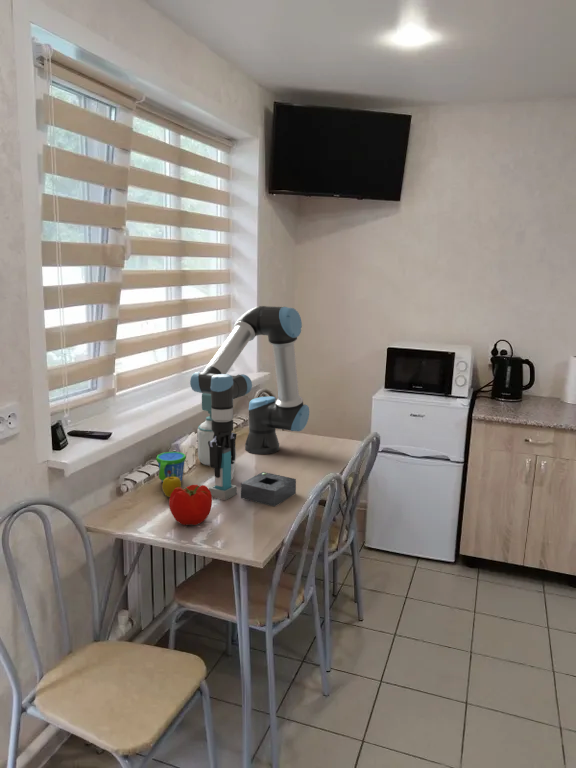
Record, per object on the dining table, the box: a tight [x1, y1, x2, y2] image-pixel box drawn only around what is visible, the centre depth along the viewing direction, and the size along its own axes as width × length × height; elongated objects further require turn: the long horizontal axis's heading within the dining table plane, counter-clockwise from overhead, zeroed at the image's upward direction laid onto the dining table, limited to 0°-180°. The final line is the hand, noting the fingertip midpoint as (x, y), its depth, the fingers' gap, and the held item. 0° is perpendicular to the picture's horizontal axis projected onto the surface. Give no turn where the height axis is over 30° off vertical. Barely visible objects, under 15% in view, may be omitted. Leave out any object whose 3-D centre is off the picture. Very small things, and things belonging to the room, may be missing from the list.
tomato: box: [168, 484, 213, 526], centre depth 192 cm, size 13×14×12 cm
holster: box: [208, 484, 238, 501], centre depth 214 cm, size 7×7×3 cm
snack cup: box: [156, 451, 187, 483], centre depth 226 cm, size 16×10×10 cm
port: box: [240, 471, 297, 507], centre depth 214 cm, size 14×14×6 cm
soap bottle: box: [196, 393, 214, 467], centre depth 246 cm, size 12×12×31 cm
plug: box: [214, 447, 232, 491], centre depth 213 cm, size 4×4×17 cm
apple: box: [162, 476, 182, 498], centre depth 212 cm, size 6×6×8 cm
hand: (223, 483), depth 214 cm, fingers closed on plug, 4 cm apart
